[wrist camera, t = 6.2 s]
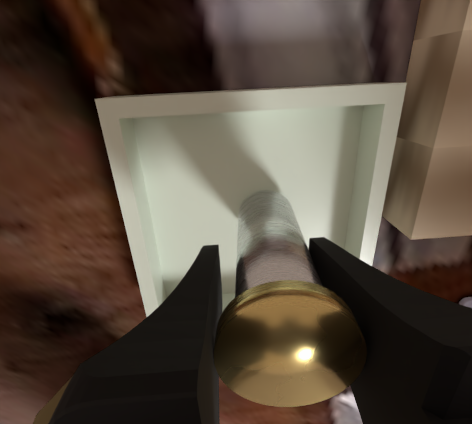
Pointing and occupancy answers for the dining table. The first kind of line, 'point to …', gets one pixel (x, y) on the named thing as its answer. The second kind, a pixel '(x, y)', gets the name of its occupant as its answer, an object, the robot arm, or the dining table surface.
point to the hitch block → (435, 128)
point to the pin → (283, 316)
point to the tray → (247, 169)
